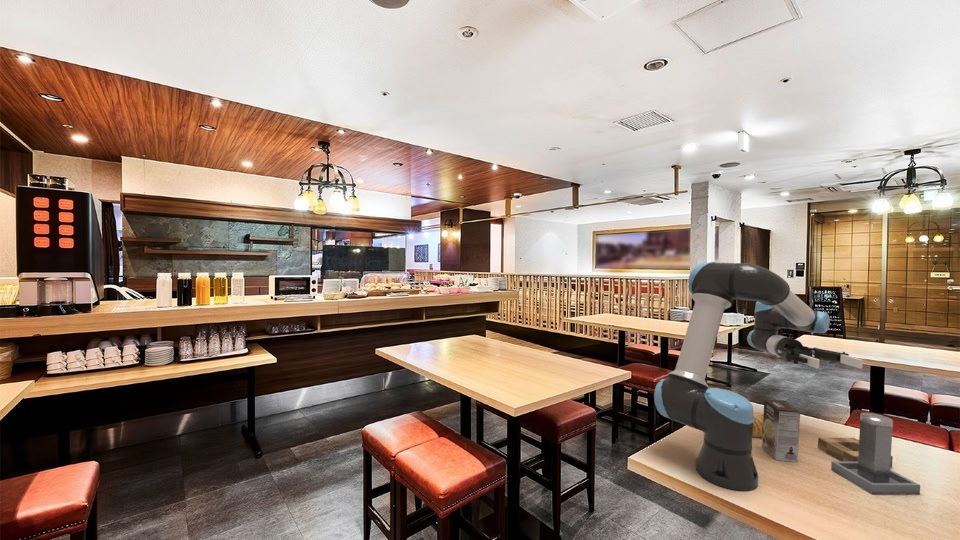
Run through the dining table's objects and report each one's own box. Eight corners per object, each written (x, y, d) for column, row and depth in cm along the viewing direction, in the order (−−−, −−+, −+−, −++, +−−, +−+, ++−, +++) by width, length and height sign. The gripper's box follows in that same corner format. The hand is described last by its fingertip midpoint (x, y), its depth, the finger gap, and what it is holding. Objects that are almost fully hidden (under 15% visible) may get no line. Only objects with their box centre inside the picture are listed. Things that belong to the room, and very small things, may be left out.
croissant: (735, 447, 138) (744, 432, 134) (717, 423, 146) (725, 408, 142) (790, 443, 140) (800, 428, 136) (769, 419, 149) (778, 405, 145)
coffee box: (760, 446, 131) (762, 398, 131) (782, 448, 130) (784, 400, 129) (775, 460, 122) (777, 409, 122) (799, 462, 121) (801, 411, 120)
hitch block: (852, 467, 118) (853, 456, 118) (817, 448, 130) (818, 437, 130) (891, 467, 119) (892, 456, 119) (853, 448, 131) (854, 437, 131)
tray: (872, 494, 105) (872, 485, 105) (831, 469, 117) (831, 461, 117) (919, 494, 106) (920, 485, 105) (874, 469, 118) (874, 461, 117)
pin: (873, 485, 108) (876, 422, 107) (851, 472, 115) (854, 412, 114) (896, 485, 108) (900, 422, 108) (872, 472, 115) (875, 412, 114)
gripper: (818, 358, 144) (878, 376, 122) (750, 357, 143) (799, 375, 122) (819, 337, 143) (880, 352, 122) (751, 337, 143) (800, 351, 121)
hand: (839, 364), depth 122 cm, fingers open, 13 cm apart
